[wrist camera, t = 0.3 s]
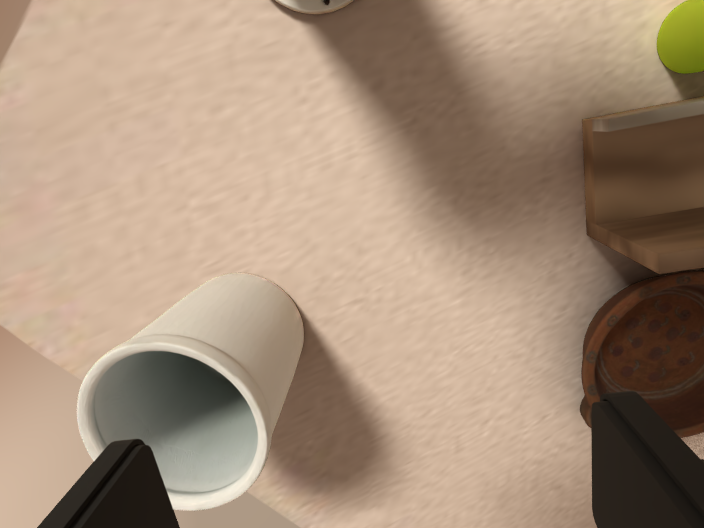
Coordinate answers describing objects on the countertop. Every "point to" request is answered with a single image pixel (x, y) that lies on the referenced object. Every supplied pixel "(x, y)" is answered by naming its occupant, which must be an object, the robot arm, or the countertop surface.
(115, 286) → the countertop surface
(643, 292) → the dish
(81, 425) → the utensil holder
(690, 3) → the soap dispenser
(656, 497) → the robot arm
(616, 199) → the board
